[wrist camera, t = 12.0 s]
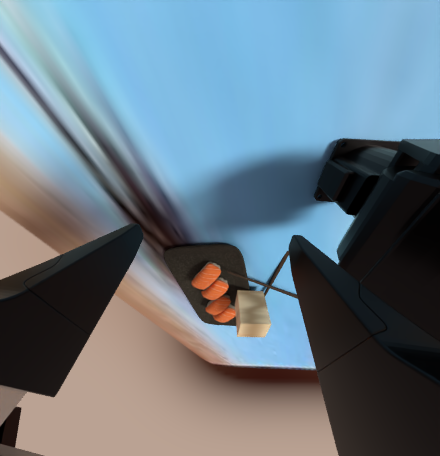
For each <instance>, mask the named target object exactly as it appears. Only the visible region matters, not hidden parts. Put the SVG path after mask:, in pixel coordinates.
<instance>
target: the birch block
mask: <svg viewBox="0 0 440 456" xmlns="http://www.w3.org/2000/svg"><path fill="white" fill-rule="evenodd" d="M235 313H236V326H237V337H265V336H266V334H267V332H268V330H269V328H270V326H271V321H270V317H269V313H268V309H267V305H266V301H265V297H264V293H263V291H243V290H238V291H237V296H236V301H235Z"/></svg>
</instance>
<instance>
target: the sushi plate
mask: <svg viewBox="0 0 440 456" xmlns="http://www.w3.org/2000/svg"><path fill="white" fill-rule="evenodd" d="M288 255H289V251H287V252H286V254H285V255H284V257H283V259H282V261H281V262H280V264H279V266H278V267H277V269H276V271H275V273H274V275H273V277H272V279H271V281H270V283H269V285H266V284H264V283H261V282H258V281H255V280H252V279H250V278H247V273H246V268H245V263H244V259H243V256H242V254H241V252H240V251H239V249H238V248H237V247H235V246H232V245H227V244H209V245H193V246H182V247H175V248H170V249H168V250H166V251H165V253H164V258H165V261H166V263H167V265H168V267H169V269H170V270H171V272H172V274H173V275H174V277H175V279H176V280H177V282H178V284H179V285H180V287H181V288H182V290H183V292H184V293H185V295H186V297H187V298H188V300H189V302H190V303H191V305H192V306H193V308H194V310H195V311H196V313H197V315H198V316H199V318H200V319H201V320H202V321H203V322H205V323H208V324H214V325H229V326H236V313H235V301H236V296H237V291H238V290H243V291H250V289H249V284H248V280H249V281H252V282H254V283H257V284H260V285H263V286H265V287H267V289H266V291H265V293H264V297H265V296H266V294H267V292H268V290H269V289H270V288H271V289H273V290H276V291H279V292H282V293H284V294H287V295H289V296H292V297H295V298H297V299H298V296H297V295H295V294H293V293H290V292H287V291H284V290H281V289H278V288H275V287H272V286H271V285H272V283H273V282H274V280H275V278H276V276H277V275H278V273H279V271H280V269H281V268H282V266H283V264H284V262H285V261H286V259H287V257H288Z"/></svg>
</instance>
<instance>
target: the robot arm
mask: <svg viewBox="0 0 440 456" xmlns="http://www.w3.org/2000/svg"><path fill="white" fill-rule="evenodd" d="M343 142H345V144H344V146H342V147H341V144H342V143H343ZM317 184H318V187H317V190H316V192H315V194H314V198H315V199H316V200H318V201H328V202H336V203H337V204H338V205H339V207H340V208H341V209H342V210H343V211H344V212H345V213H346V214H348V215H352V216H353V217H354V218H355V219H354V220H353V222H352V224H351V225H350V227H349V229H348V230H347V232H346V234H345V235H344V237H343V239H342V241H341V242H340V244H339V246H338V249H337V254H338V258H339V263H338V264H336V263H335V262H334V261H333V260H331V259H330V258H329V257H328V256H326V255H325V254H324V253H323V252H321V251H320V250H319V249H318V248H316V247H315V246H314V245H313V244H311V243H310V242H309V241H308V240H306V239H305V238H304V237H303V236H301V235H293V236H292V239H291V242H290V244H289V256H290V264H291V272H292V277H293V281H294V285H295V289H296V292H297V296H298V300H299V304H300V308H301V312H302V316H303V320H304V323H305V327H306V331H307V335H308V339H309V343H310V347H311V351H312V354H313V358H314V362H315V366H316V370H317V372H318V373H317V374H318V378H319V382H320V386H321V390H322V393H323V397H324V401H325V405H326V409H327V413H328V416H329V421H330V424H331V428H332V432H333V436H334V440H335V444H336V447H337V451H338V455H339V456H440V139H402V141H383V140H366V139H348V138H343V139H340V140H339V141H338V142H337V144H336V146H335V148H334V151H333V153H332V155H331V157H330V160H329V161H327V162H326V165H325V167H324V169H323V172H322V174H321V176H320V179H319V181H318V183H317ZM318 195H321V196H320V197H318ZM142 240H143V232H142V230H141V227H140V225H139V224H129V225H127V226H125V227H123V228H120V229H118V230H116V231H114V232H111V233H109V234H107V235H105V236H102V237H100V238H98V239H96V240H93V241H91V242H89V243H87V244H84V245H82V246H80V247H78V248H75V249H73V250H71V251H69V252H66V253H65V254H62V255H60V256H57V257H55V258H53V259H50V260H48V261H46V262H44V263H41V264H39V265H36V266H34V267H32V268H29V269H26V270H24V271H21V272H19V273H16V274H14V275H12V276H9V277H6V278H4V279H2V280H0V456H43V455H39V454H36V453H32V452H28V451H25V450H21V449H17V448H15V444H16V438H17V431H18V425H19V420H20V413H21V408H20V407H16V406H17V404H18V403H19V402H20V400H21V399H22V398H23V396H24V395H25V394H26V393H27V392H32V393H36V394H41V395H45V396H50V397H55V395H56V394H57V393H58V391H59V389H60V388H61V386H62V384H63V382H64V381H65V379H66V377H67V375H68V373H69V372H70V370H71V368H72V367H73V365H74V363H75V361H76V360H77V358H78V356H79V354H80V353H81V351H82V349H83V347H84V345H85V344H86V342H87V340H88V339H89V337H90V335H91V333H92V331H93V330H94V328H95V326H96V324H97V323H98V321H99V319H100V317H101V316H102V314H103V312H104V310H105V309H106V307H107V305H108V304H109V302H110V300H111V298H112V296H113V295H114V293H115V291H116V290H117V288H118V286H119V284H120V283H121V281H122V279H123V277H124V276H125V274H126V272H127V270H128V269H129V267H130V265H131V263H132V262H133V260H134V258H135V256H136V253H137V251H138V249H139V246H140V244H141V242H142Z"/></svg>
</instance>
